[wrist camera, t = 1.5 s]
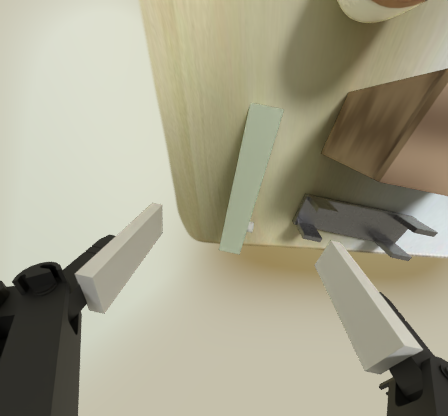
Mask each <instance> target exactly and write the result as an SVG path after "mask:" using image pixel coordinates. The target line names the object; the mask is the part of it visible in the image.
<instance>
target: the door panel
mask: <svg viewBox="0 0 448 416" xmlns="http://www.w3.org/2000/svg"><path fill="white" fill-rule="evenodd" d="M283 112H284V109H280V108H275V107H270V106H265V105H260V104H255V103H251V104H250V107H249V111H248V115H247V120H246V125H245V129H244V134H243V138H242V143H241V148H240V152H239V157H238V162H237V166H236V171H235V176H234V180H233V185H232V190H231V194H230V199H229V204H228V208H227V213H226V218H225V223H224V228H223V232H222V237H221V242H220V247H219V250H221V251H226V252H230V253H235V254H240V251H241V248H242V245H243V242H244V238H245V235H246V232H251V233H252V231H253V227H254V222H251V221H250V219H251V216H252V212H253V209H254V206H255V203H256V199H257V196H258V193H259V190H260V186H261V183H262V180H263V177H264V174H265V170H266V167H267V164H268V161H269V157H270V154H271V151H272V148H273V144H274V141H275V138H276V135H277V131H278V128H279V125H280V122H281V118H282V115H283Z"/></svg>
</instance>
